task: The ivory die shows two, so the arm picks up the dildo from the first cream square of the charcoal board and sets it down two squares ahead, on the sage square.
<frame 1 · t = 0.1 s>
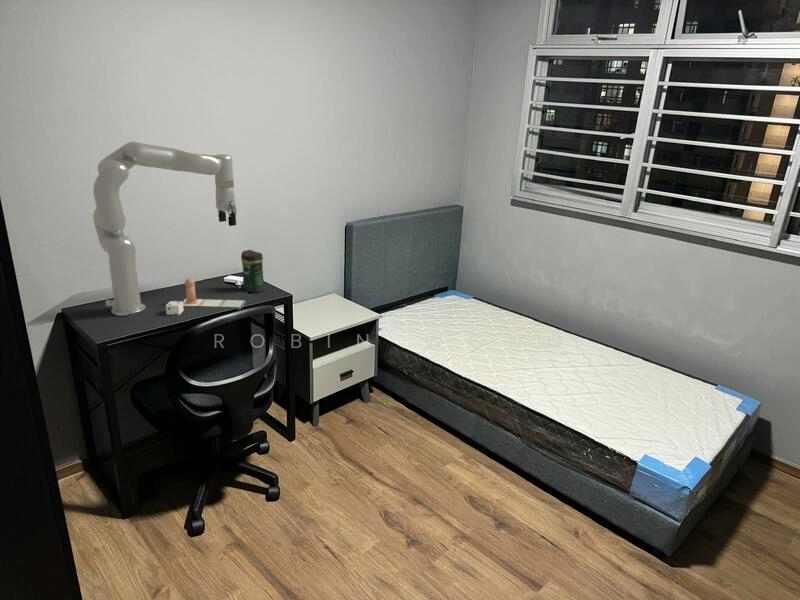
hand: (227, 223, 246), 31 cm above the table, tool pointing down, fingers open, 9 cm apart
die: (175, 315, 227), on the table
board: (212, 305, 238), on the table
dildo: (191, 302, 238), point 1 cm above the table, touching board
coffee jar: (254, 290, 258), on the table
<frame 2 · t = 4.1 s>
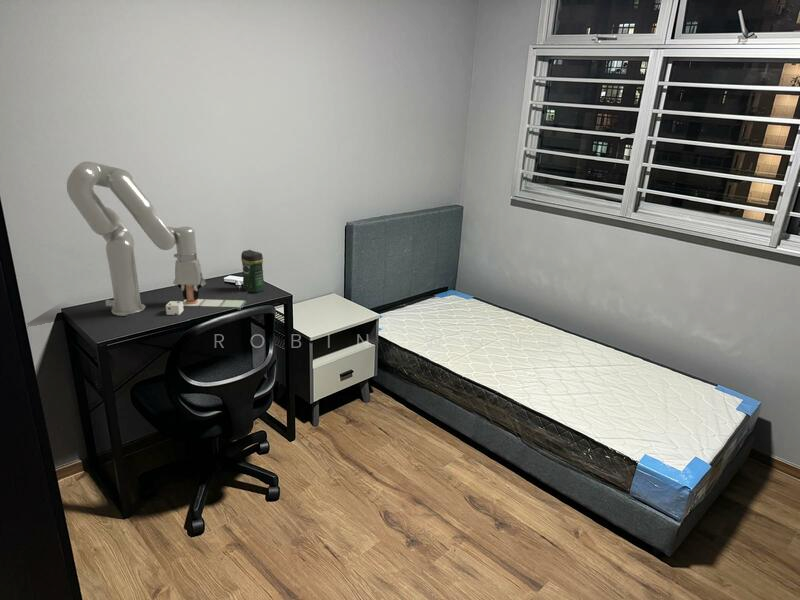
hand: (191, 298, 237), 3 cm above the table, tool pointing down, fingers closed on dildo, 3 cm apart
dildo: (191, 302, 238), point 1 cm above the table, touching board, gripper
everything else where it was.
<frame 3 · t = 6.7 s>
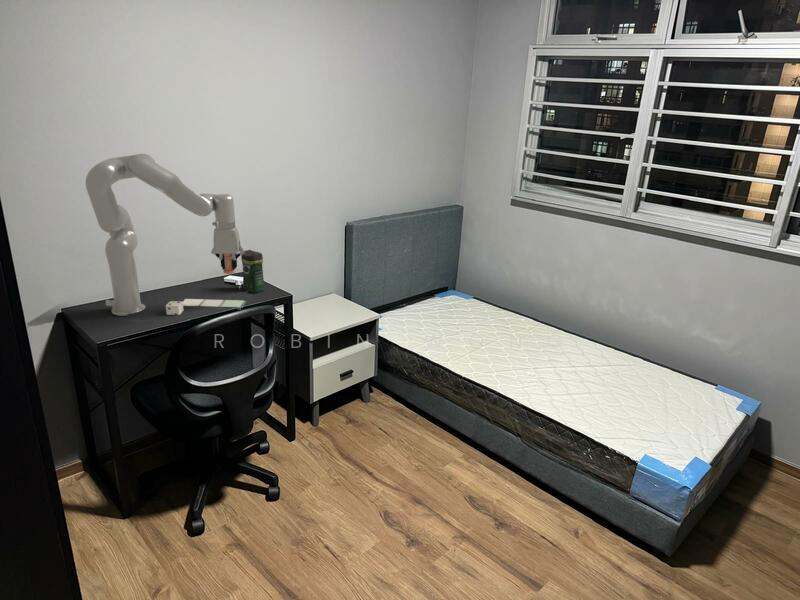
hand: (229, 268, 233), 17 cm above the table, tool pointing down, fingers closed on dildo, 3 cm apart
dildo: (229, 272, 233), point 15 cm above the table, touching gripper
everything else where it was.
when the fingers open (5 cm above the table, at t = 9.5 s): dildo drops 2 cm, point 1 cm above the table.
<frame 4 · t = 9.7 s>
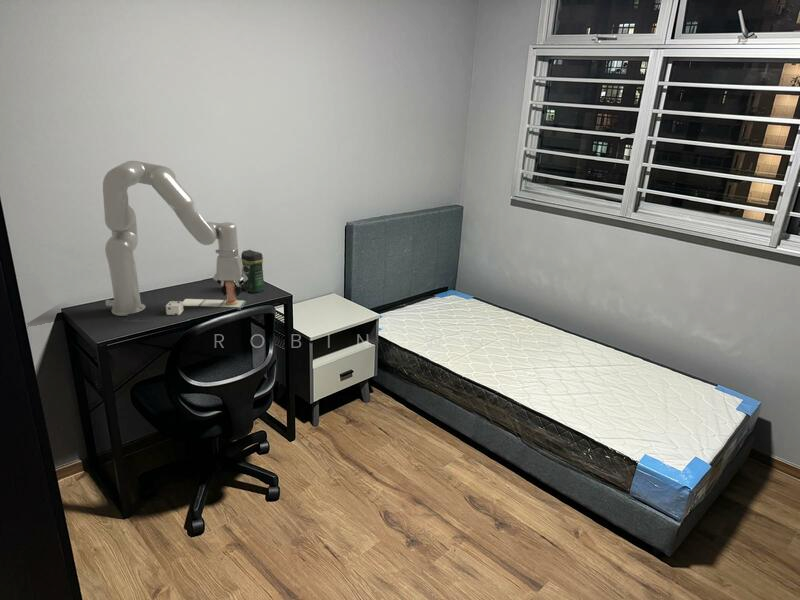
hand: (231, 294, 237), 5 cm above the table, tool pointing down, fingers open, 4 cm apart
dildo: (231, 303, 238), point 1 cm above the table, touching gripper
everything else where it was.
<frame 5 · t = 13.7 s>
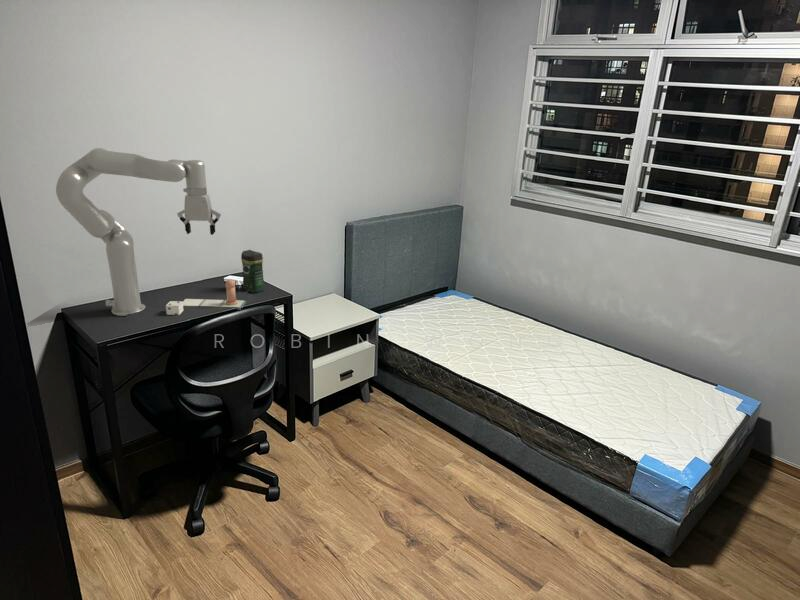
hand: (200, 233, 231), 30 cm above the table, tool pointing down, fingers open, 9 cm apart
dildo: (231, 303, 238), point 1 cm above the table, touching board
everything else where it was.
at the end: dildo 0.3 cm from the target spot, point 1.0 cm above the table; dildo tilted 0°; the gripper is holding nothing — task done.
